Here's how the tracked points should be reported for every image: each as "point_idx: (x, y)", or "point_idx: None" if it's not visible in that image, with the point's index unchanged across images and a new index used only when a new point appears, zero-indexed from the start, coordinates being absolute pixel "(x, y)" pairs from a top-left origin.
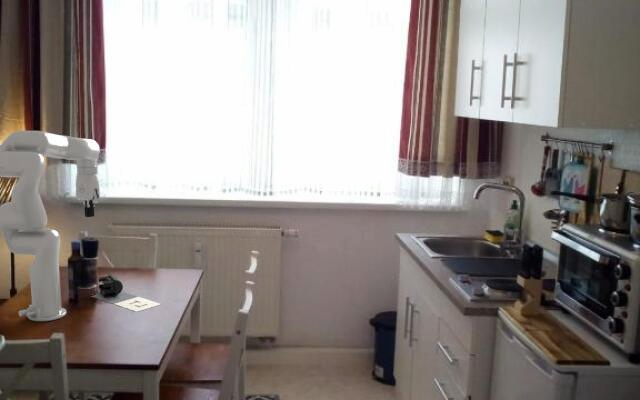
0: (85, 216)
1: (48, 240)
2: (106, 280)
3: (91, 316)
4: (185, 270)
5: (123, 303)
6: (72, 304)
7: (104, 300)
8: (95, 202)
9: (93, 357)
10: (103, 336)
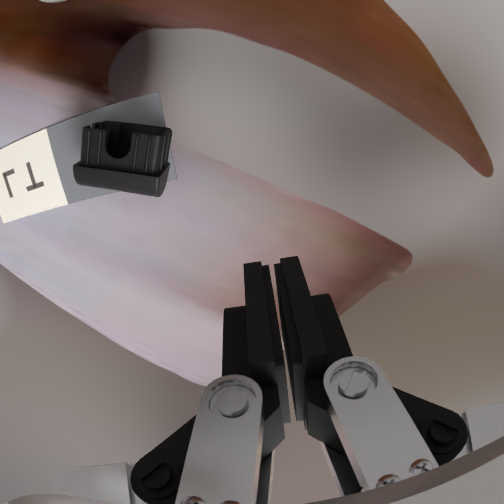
0: (287, 257)
1: None
2: (98, 145)
3: (2, 57)
4: None
5: (37, 151)
6: (111, 26)
7: (84, 114)
8: (59, 477)
9: None
10: None
